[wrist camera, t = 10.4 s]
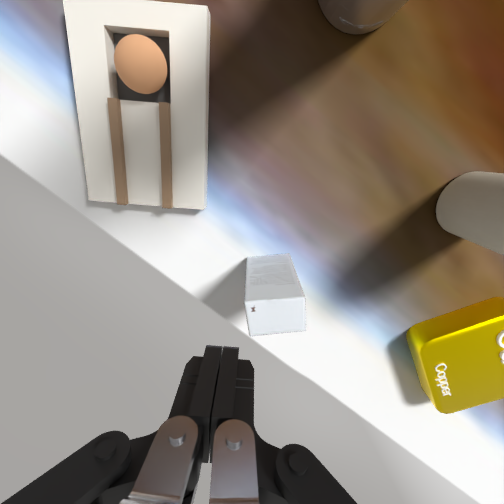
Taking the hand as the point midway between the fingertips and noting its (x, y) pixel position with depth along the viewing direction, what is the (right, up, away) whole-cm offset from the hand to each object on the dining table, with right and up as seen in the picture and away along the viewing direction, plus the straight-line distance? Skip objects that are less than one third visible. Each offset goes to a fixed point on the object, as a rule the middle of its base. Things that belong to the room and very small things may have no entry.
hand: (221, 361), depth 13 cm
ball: (-10, +24, +15) cm, 30 cm away
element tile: (+34, -10, +30) cm, 47 cm away
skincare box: (+4, +3, +26) cm, 26 cm away
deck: (-11, +21, +19) cm, 30 cm away
